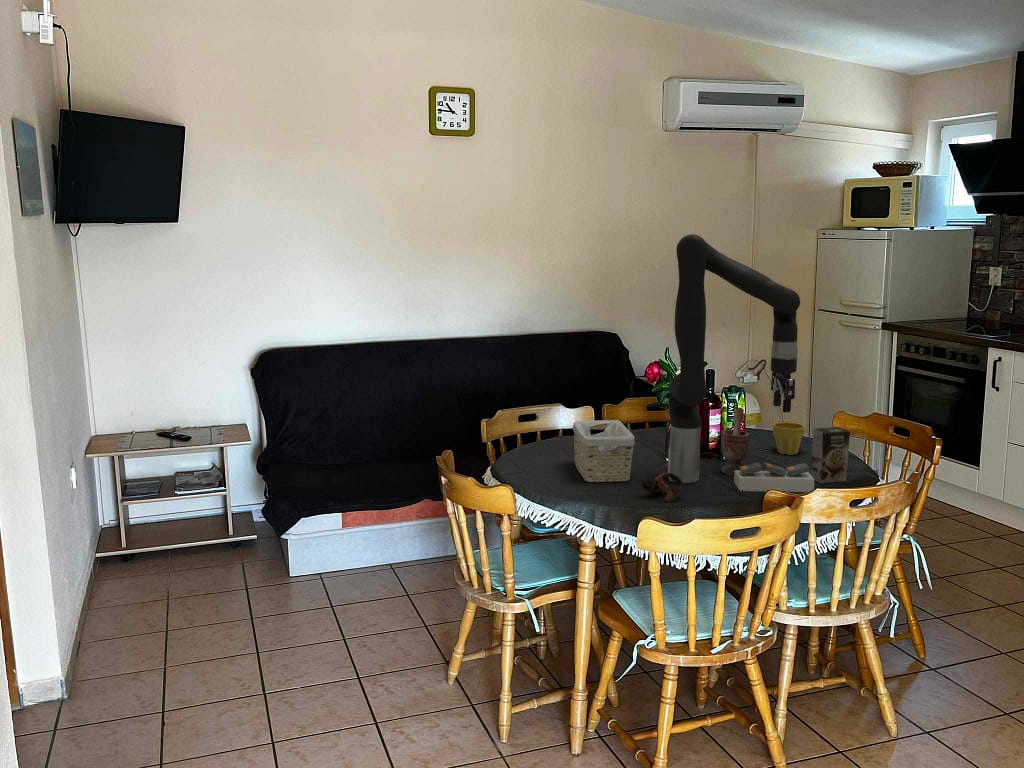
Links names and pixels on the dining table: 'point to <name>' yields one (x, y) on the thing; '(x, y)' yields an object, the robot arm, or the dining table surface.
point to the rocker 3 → (797, 469)
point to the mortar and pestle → (734, 444)
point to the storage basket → (603, 450)
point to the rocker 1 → (750, 468)
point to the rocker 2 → (774, 469)
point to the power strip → (773, 481)
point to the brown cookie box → (830, 454)
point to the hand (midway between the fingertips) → (781, 409)
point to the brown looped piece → (663, 485)
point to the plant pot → (788, 437)
